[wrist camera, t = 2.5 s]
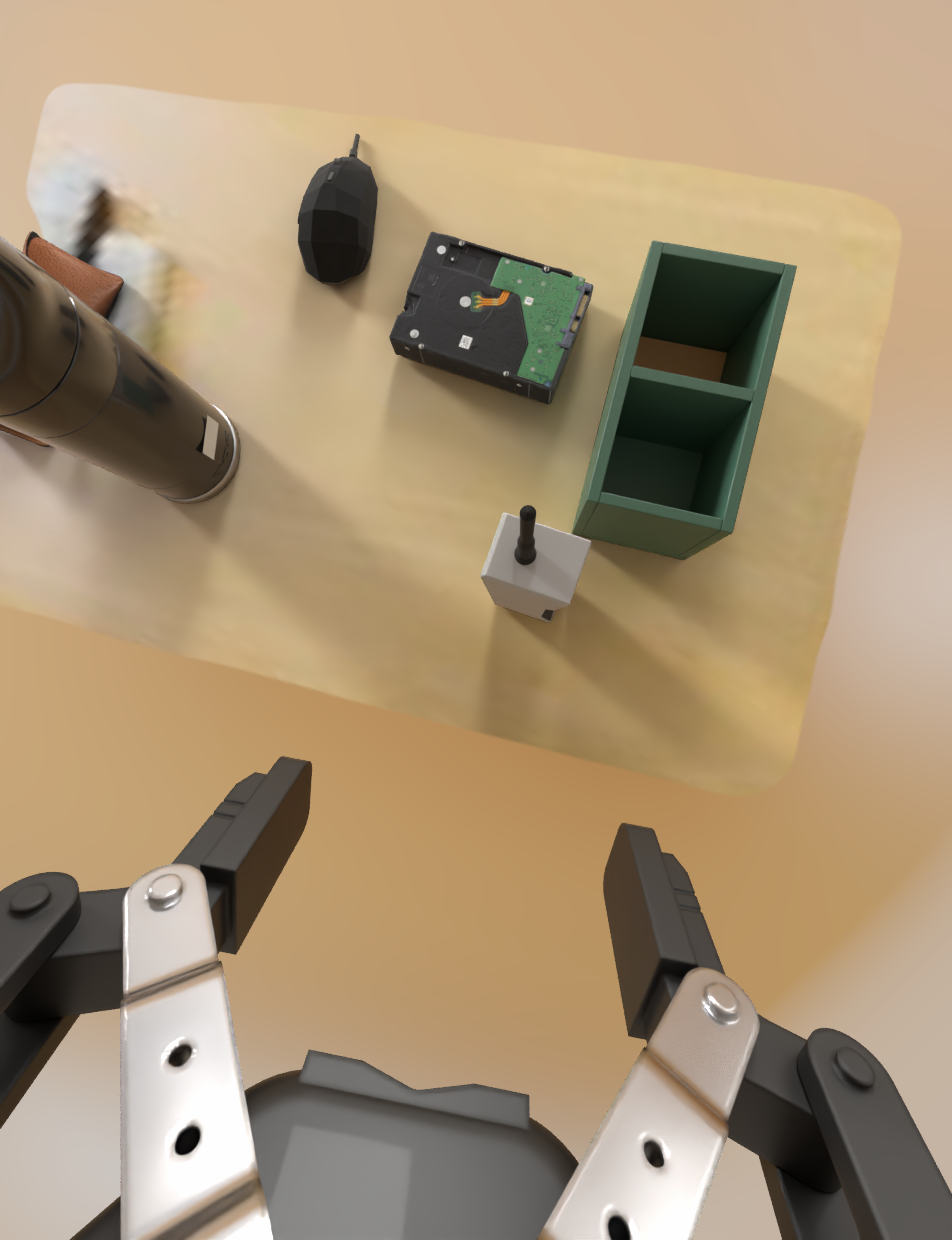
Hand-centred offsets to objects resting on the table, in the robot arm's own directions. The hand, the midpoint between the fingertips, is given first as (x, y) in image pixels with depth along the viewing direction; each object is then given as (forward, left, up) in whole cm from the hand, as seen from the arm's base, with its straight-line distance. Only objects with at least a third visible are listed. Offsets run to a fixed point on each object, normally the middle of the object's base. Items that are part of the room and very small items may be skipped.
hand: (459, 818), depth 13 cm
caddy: (+7, +25, -30) cm, 40 cm away
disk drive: (-9, +32, -31) cm, 45 cm away
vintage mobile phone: (0, +10, -31) cm, 32 cm away
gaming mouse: (-25, +40, -31) cm, 56 cm away
